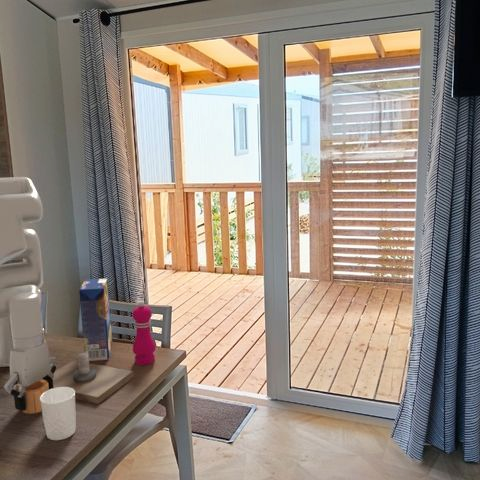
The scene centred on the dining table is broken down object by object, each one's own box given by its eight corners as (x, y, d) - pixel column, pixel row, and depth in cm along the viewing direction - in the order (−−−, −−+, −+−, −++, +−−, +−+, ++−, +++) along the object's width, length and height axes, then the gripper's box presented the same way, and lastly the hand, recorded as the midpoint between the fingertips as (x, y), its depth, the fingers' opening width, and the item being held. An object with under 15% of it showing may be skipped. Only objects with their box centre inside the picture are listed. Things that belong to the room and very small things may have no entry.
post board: (35, 389, 139) (32, 360, 138) (74, 366, 154) (71, 339, 152) (98, 403, 131) (95, 372, 129) (132, 377, 146) (131, 349, 144)
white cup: (49, 424, 122) (45, 387, 120) (81, 422, 123) (78, 385, 121) (39, 443, 114) (35, 404, 112) (73, 441, 115) (70, 402, 113)
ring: (15, 410, 129) (13, 389, 127) (35, 397, 135) (33, 377, 134) (36, 415, 126) (33, 394, 125) (55, 402, 132) (53, 382, 131)
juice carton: (109, 359, 158) (103, 288, 154) (85, 361, 157) (79, 290, 152) (112, 344, 170) (107, 278, 165) (90, 346, 169) (84, 279, 164)
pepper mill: (151, 366, 152) (147, 305, 149) (129, 365, 154) (125, 304, 150) (159, 356, 159) (156, 298, 155) (138, 355, 161) (135, 297, 157)
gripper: (42, 326, 136) (48, 383, 139) (-10, 351, 120) (-2, 414, 124) (63, 330, 133) (69, 387, 136) (12, 355, 117) (20, 420, 121)
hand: (35, 400), depth 130 cm, fingers open, 9 cm apart
